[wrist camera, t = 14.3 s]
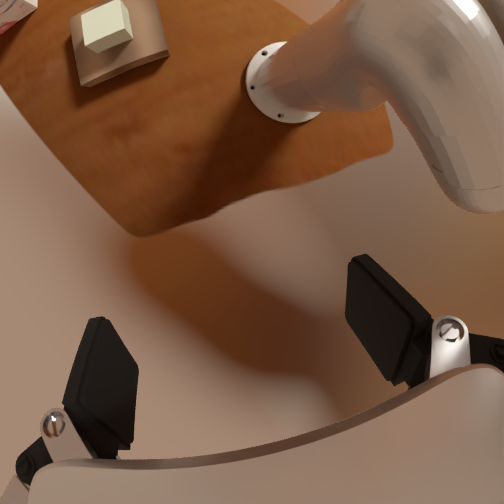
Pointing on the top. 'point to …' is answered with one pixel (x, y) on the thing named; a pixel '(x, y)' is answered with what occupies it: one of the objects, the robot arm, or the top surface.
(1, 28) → the ink cartridge box
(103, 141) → the top surface
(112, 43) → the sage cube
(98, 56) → the walnut block
